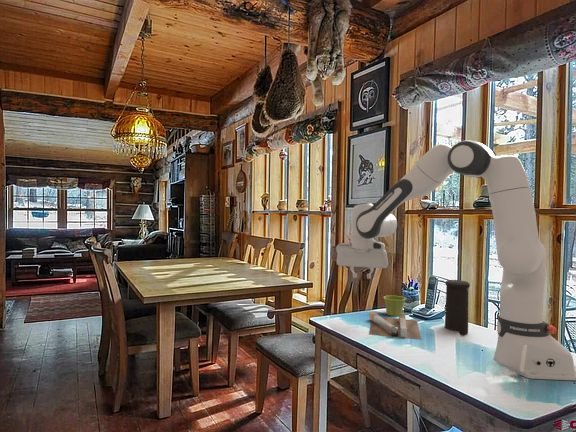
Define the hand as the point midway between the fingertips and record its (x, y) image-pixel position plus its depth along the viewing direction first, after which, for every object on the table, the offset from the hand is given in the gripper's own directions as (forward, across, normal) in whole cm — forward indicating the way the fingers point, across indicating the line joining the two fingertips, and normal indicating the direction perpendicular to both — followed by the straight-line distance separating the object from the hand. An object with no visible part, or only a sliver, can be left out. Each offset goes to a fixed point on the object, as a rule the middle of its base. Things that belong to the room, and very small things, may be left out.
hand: (361, 278), depth 153 cm
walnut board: (+19, +13, -3) cm, 23 cm away
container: (+19, +36, +3) cm, 41 cm away
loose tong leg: (+17, +9, -5) cm, 20 cm away
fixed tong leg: (+18, +16, -4) cm, 24 cm away
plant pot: (+19, +13, +17) cm, 29 cm away
